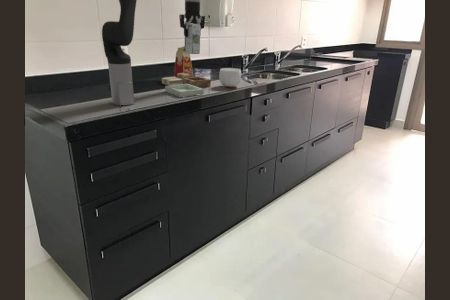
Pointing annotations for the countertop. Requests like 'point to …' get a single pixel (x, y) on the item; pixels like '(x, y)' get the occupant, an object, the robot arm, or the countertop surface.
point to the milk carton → (183, 62)
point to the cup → (230, 77)
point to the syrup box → (193, 39)
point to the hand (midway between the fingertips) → (192, 37)
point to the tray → (184, 90)
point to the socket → (197, 82)
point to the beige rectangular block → (172, 81)
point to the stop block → (183, 75)
